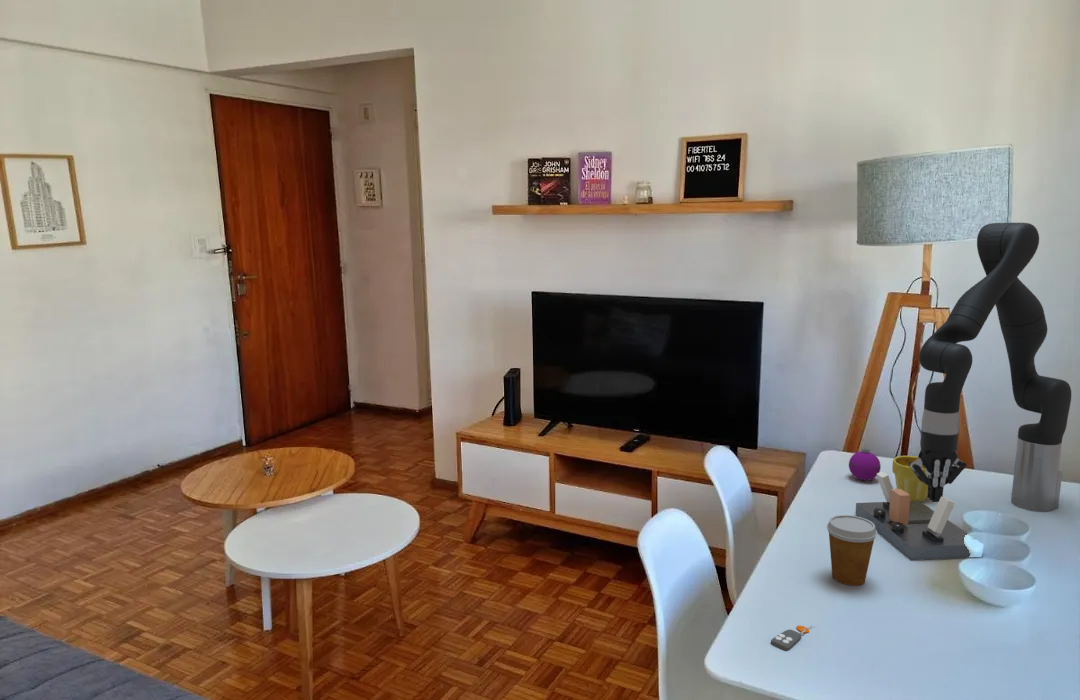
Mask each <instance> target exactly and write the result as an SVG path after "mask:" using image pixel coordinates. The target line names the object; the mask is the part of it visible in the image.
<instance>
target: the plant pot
mask: <svg viewBox="0 0 1080 700" xmlns="http://www.w3.org/2000/svg"><path fill="white" fill-rule="evenodd" d="M917 459H918V456H916V455H915V456H914V455H898V456H895V457H894V458H893V459H892V469H891V470H892V473H893V474H894V476H895V477H894V478H895V484H896V485H895V486H896V489H902V490H903V491H905V492H906V493H908V494H909V495H910V501H920V502H921V503H922V502H924V501H925V500H926V499H927V497H928V496H927V492H928V485H926V484H925V483H923V482H921V481H920V480H919V479H918V477H917V476H916V475H915V473H914V472H913V471H912V469H911V468H910V467H909V465H908V464H909V462H914V461H916V460H917ZM922 466H923V464H922ZM922 471H923V472H924V473H925V475H926V476H927V474H926V472H925V467H924V466H923V469H922Z"/></svg>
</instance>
